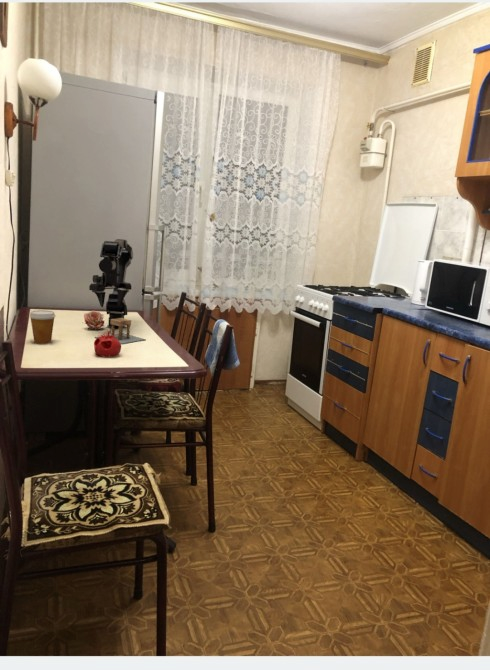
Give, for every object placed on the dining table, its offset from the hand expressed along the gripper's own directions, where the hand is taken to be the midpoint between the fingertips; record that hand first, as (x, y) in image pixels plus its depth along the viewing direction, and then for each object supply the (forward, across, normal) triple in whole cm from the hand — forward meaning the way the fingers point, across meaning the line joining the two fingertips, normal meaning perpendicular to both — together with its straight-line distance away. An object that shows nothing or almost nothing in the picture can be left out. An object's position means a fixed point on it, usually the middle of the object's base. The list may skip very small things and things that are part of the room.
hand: (110, 306), depth 224 cm
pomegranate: (+12, +24, +29) cm, 40 cm away
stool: (+12, +4, +12) cm, 17 cm away
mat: (+12, +4, +12) cm, 17 cm away
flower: (+12, +1, -10) cm, 16 cm away
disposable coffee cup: (+12, +32, -1) cm, 34 cm away
